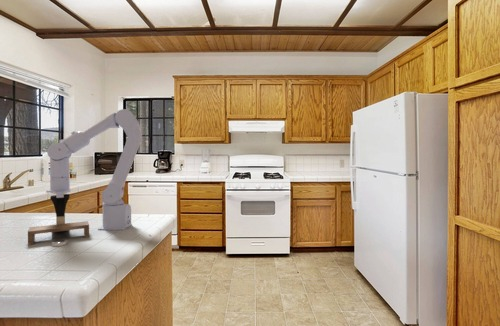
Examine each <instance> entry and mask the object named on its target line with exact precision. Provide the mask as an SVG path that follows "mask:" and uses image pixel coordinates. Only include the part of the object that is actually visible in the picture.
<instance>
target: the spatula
mask: <svg viewBox="0 0 500 326" xmlns="http://www.w3.org/2000/svg"><path fill="white" fill-rule="evenodd" d="M55 217H56V220H55V221H56V223H55V225H56V224H66V213H65V214H64V216H59V217H57V216H55ZM68 231H70V230H66V231H65V232H68ZM58 232H61V231H57V232H56V233H58ZM50 233H53V232H50Z"/></svg>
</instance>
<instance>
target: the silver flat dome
mask: <svg viewBox="0 0 500 326" xmlns="http://www.w3.org/2000/svg"><path fill="white" fill-rule="evenodd" d="M50 245H51V247H53V248H55V247H63V246H66V245H68V240H62V239H61V240H55V241H52V242H51V243H50Z"/></svg>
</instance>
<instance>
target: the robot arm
mask: <svg viewBox="0 0 500 326" xmlns="http://www.w3.org/2000/svg"><path fill="white" fill-rule="evenodd" d="M119 128H122V129H123V131H124V133H125V134H126V135H125V136H126V137H127V140H126V141H125V143H124V144H125V145H124V147H123V149H122V151H121V154H120V156H119V159H118V162H117V165H116V167H115V169H114V172H113V175H112V177H111V179H110V181H109V183H108V184H107V187H106V188H104V190H103V191H102V192H101V195H100V197H101V200H102V226H100V227H98V228H97V230H98V231H118V230H119V231H120V230H121V231H122V230H126V229H128V228H129V227H130V226H132V225H133V223H132V208H131V207H132V206H131V204H129V203H125V201H124V200H123V199H122V198H123V197H124V195H125V191H124V189H125V185H126V181H127V179H128V175H129V173H130V170H131V168H132V165H133V163H134V160H135V158H136V156H137V152H138V150H139V147H140V145H141V142H142V139H143V134H142V131H141V126H140V122H139V120H138V119H137V118H136V116H135V115H134V113H133V112H132V111H131V110H129V109H127V108H126V109H125V108H124V109H123V108H122V109H118V111H116V112H113V113H111V114H109V115H108V116H106V117H105V118H104V119H102V120H100V121H99V122H97V123H95V124H94V125H92V126H91V127H89V128H88V129H86V130H85V131H82V130H78V131H75V130H74V131H71V135H69V136H67V137H66V138H63V139H59V140H58V142H54V143H51V144H50V145H49V146H48V148H47V151H46V152H47V156H48V157H49V161H50V162H49V182H50V183H49V187H50V189H47V190H45V191H46V192H45V193H46V194H47V193H49V194H53V195H50V200H51V202H52V204H53V207H54V211H55V215H56V216H57V217H59V216H64V214H65V215H66V207H67V204H68V201H69V199H70V198H71V197H70V194H69V192H71V187H70V179H71V178H70V158H71V156H72V155H73V154H75V153H77V152H78V151H80V150H82V149H83V148H85V147H86V146H88V145H90V142H91V140H92V139H93V138H96V137H97V136H98V135H100V134H102V133H104V132H106V131H107V130H109V129H119ZM56 216H55V217H56Z"/></svg>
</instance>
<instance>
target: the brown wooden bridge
mask: <svg viewBox="0 0 500 326" xmlns="http://www.w3.org/2000/svg"><path fill="white" fill-rule="evenodd" d="M80 229H81V230H82V229H83V235H84V238H90V223H89V221H88V220H86V221H78V222H77V221H75V222H68V223H66V222H65V224H56V223H55V224H50V225H49V224H48V225H47V224H46V225H39V226H37V225H36V226H30V227H29V228H28V230H27V246H28V245H29V246H30V245H34V242H35V241H36V240H35V239H36V237H35V236H36V235H38V234H47V233H51V232H52V233H58V232H57V231H60V232H67V231H66V230H69V231H74V230H80Z"/></svg>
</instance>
